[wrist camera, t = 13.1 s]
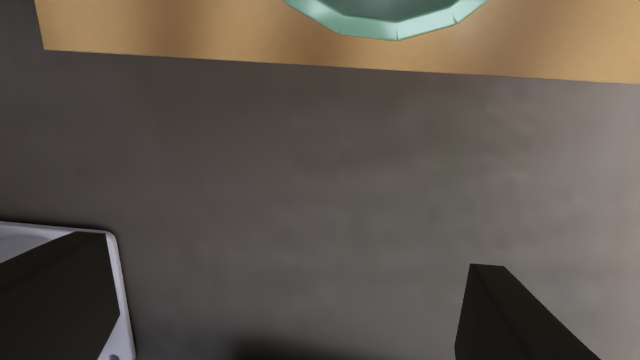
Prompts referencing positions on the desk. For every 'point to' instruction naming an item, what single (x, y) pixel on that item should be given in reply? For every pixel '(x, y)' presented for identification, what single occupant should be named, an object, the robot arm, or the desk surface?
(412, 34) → the tub
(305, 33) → the wooden block
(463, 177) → the desk surface
